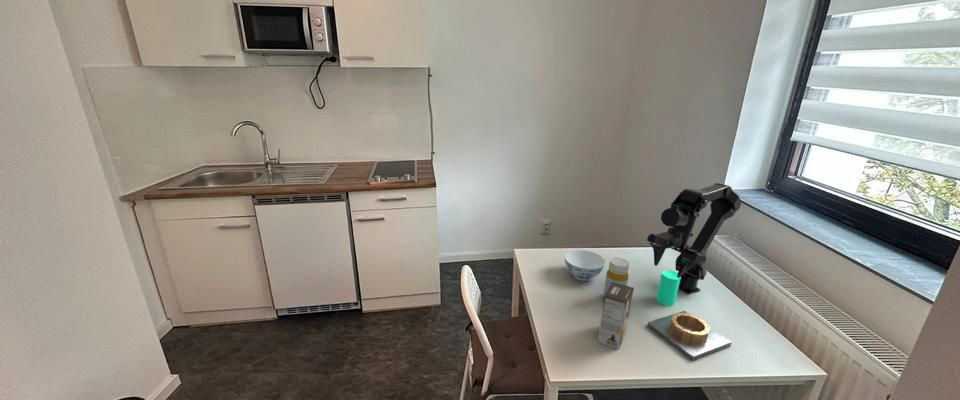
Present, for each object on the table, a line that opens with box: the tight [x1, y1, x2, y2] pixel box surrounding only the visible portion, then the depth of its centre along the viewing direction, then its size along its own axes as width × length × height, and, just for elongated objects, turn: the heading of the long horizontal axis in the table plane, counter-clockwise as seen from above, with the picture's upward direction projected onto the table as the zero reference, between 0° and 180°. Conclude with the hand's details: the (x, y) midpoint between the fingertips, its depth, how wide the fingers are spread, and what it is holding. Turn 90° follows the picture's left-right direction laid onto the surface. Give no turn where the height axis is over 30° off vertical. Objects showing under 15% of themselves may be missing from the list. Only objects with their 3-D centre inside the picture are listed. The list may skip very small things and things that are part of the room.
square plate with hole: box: [646, 310, 732, 362], centre depth 113 cm, size 16×16×4 cm
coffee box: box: [597, 282, 635, 350], centre depth 110 cm, size 9×6×16 cm
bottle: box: [602, 257, 630, 299], centre depth 128 cm, size 7×7×15 cm
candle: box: [655, 270, 681, 307], centre depth 129 cm, size 6×6×12 cm
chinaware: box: [564, 249, 606, 282], centre depth 144 cm, size 15×15×8 cm
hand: (666, 271), depth 126 cm, fingers open, 9 cm apart
